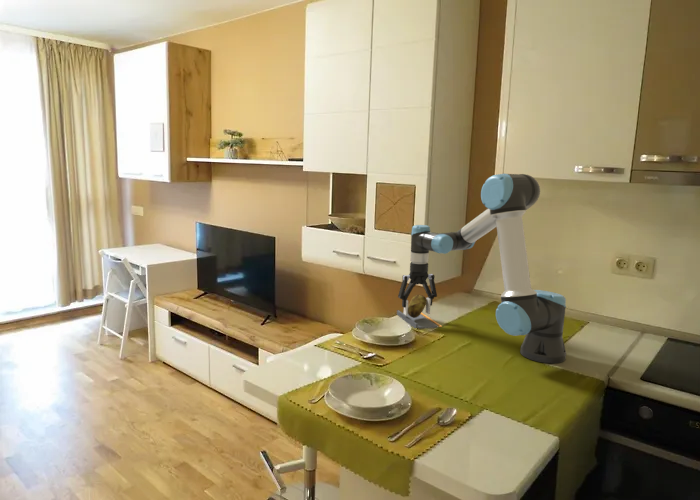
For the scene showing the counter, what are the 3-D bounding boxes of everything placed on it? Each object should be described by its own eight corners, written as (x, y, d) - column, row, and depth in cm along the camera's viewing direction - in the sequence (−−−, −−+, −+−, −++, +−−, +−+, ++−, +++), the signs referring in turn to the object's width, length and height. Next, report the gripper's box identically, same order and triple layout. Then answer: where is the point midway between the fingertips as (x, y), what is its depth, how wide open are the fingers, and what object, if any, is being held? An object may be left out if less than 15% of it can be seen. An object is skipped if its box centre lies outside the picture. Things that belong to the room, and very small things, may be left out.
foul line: (442, 326, 211) (442, 326, 211) (439, 327, 210) (439, 326, 210) (421, 312, 230) (421, 312, 229) (419, 313, 229) (419, 312, 229)
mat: (437, 327, 210) (437, 322, 210) (415, 329, 207) (416, 324, 207) (417, 313, 229) (417, 308, 229) (396, 314, 226) (397, 310, 226)
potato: (399, 316, 215) (400, 298, 214) (415, 309, 225) (415, 292, 224) (416, 320, 210) (417, 301, 209) (432, 313, 220) (432, 295, 219)
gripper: (439, 259, 220) (436, 309, 224) (391, 261, 214) (389, 313, 218) (447, 262, 213) (444, 314, 217) (398, 264, 207) (395, 318, 211)
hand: (416, 313), depth 217 cm, fingers closed on potato, 10 cm apart
